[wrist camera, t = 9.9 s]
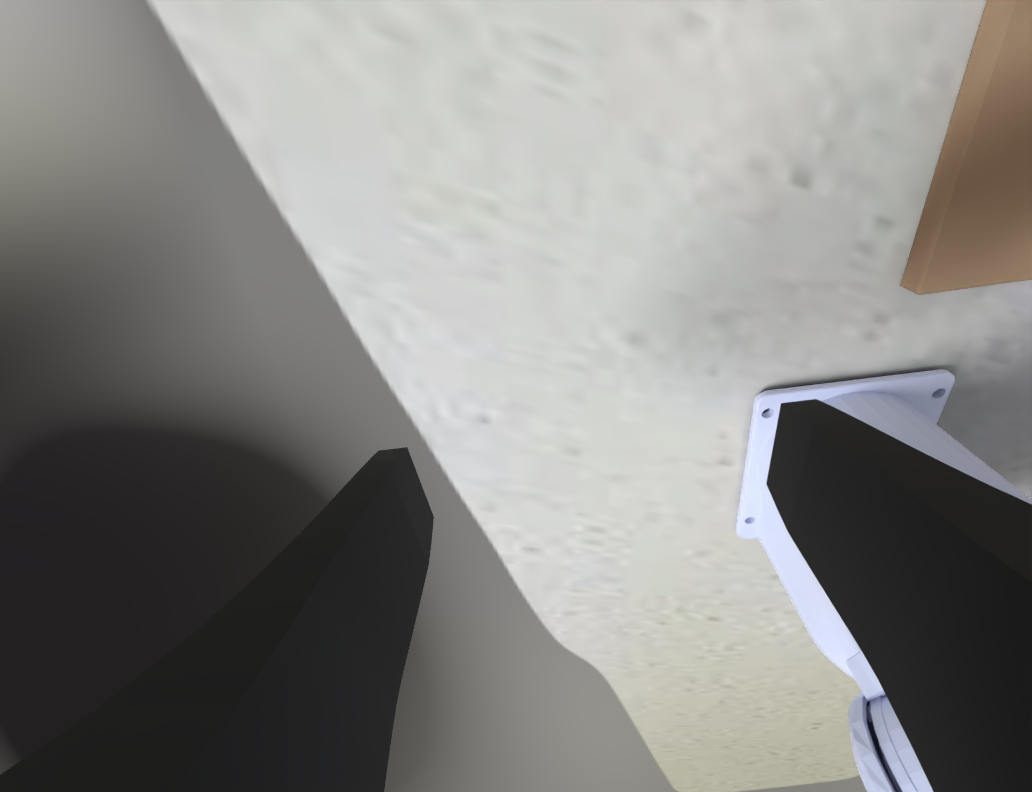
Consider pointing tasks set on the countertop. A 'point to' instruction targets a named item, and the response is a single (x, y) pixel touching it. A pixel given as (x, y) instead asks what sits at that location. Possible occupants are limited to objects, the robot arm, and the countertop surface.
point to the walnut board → (983, 167)
